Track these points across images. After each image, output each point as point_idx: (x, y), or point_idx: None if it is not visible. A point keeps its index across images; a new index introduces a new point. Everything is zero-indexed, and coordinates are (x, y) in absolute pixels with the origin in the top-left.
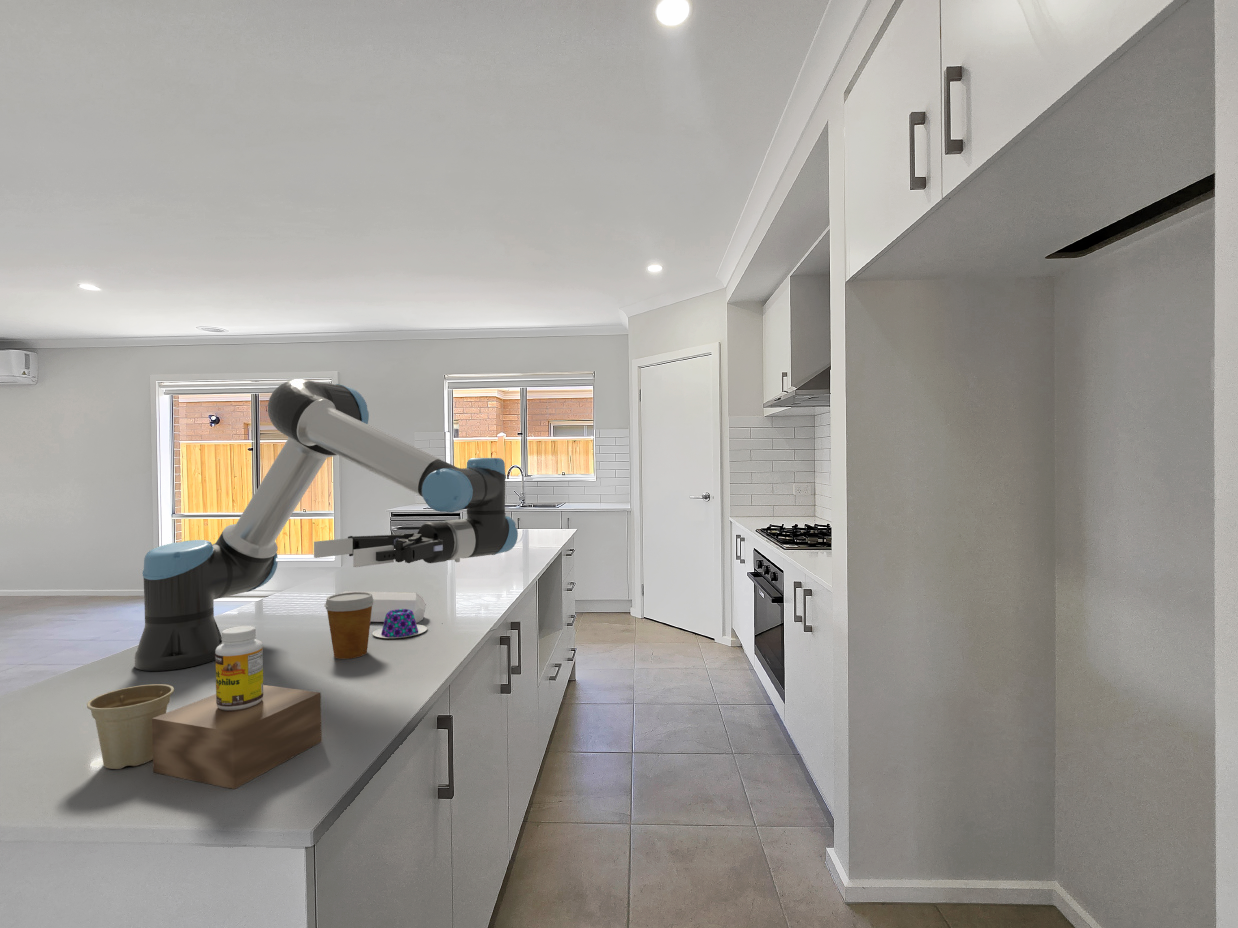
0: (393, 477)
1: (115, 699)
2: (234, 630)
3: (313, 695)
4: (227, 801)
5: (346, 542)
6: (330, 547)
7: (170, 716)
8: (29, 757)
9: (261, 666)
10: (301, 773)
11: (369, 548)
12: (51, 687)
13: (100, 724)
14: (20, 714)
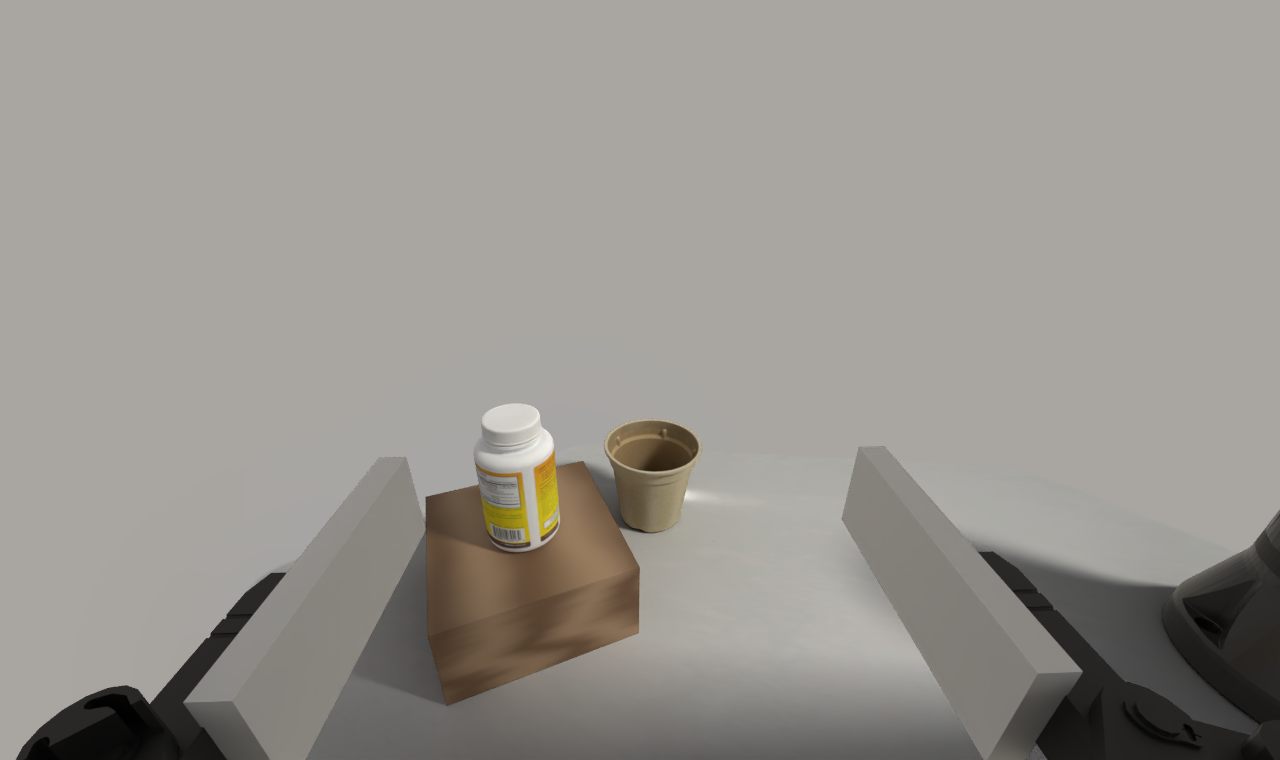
0: None
1: (692, 447)
2: (510, 412)
3: (428, 619)
4: (419, 545)
5: (976, 633)
6: (895, 544)
7: (569, 472)
8: (744, 461)
9: (486, 496)
10: (377, 627)
11: (335, 515)
12: (1067, 498)
13: (638, 443)
14: (926, 468)
